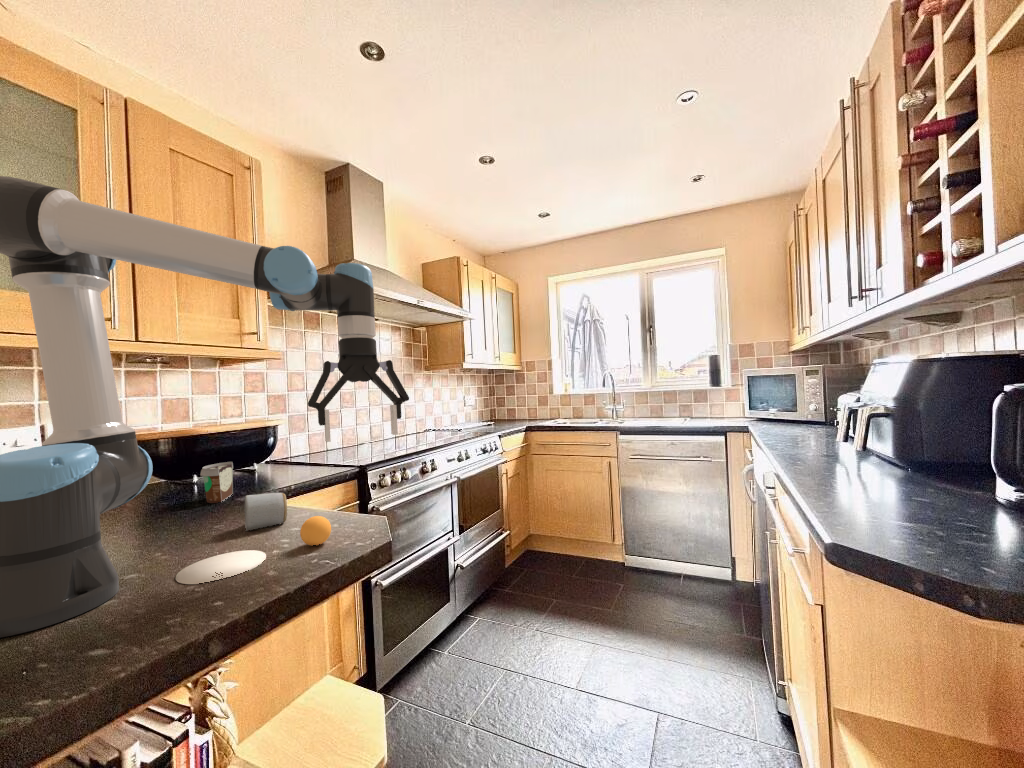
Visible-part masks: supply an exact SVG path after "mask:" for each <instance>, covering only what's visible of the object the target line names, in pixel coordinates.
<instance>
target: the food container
mask: <svg viewBox="0 0 1024 768" xmlns="http://www.w3.org/2000/svg"><path fill="white" fill-rule="evenodd" d="M233 469H234V463H233V461H227V462H226V461H225V462H219V463H218V462H217V463H214V464H208V465H205V466H203V467H202V469H201V470H200V474H199V475H200V477H202V478H203V483H204V484H203V485H204V492H205V497H206V498H205V500H206V503H207V504H208V503H209V504H219V503H218V502H221V503H223V502H225V501H226V500H227V499H229V498H230V497H232V496H233V495H234V488H233V487H234V484H233V483H234V482H233V481H234V479H233V478H234V476H233V474H234V473H233V472H234V470H233ZM232 494H233V495H232ZM231 495H232V496H231ZM228 497H229V498H228ZM225 499H226V500H225ZM222 501H223V502H222Z"/></svg>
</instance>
